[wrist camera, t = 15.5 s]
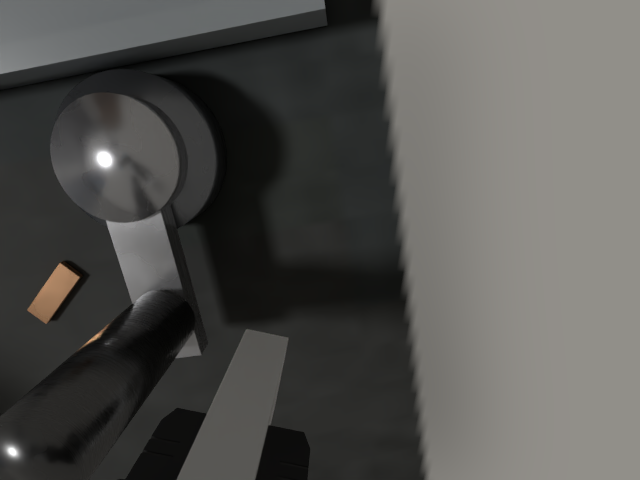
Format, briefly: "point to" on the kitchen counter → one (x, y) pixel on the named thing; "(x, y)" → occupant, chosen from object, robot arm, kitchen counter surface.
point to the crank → (141, 279)
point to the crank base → (200, 145)
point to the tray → (132, 31)
